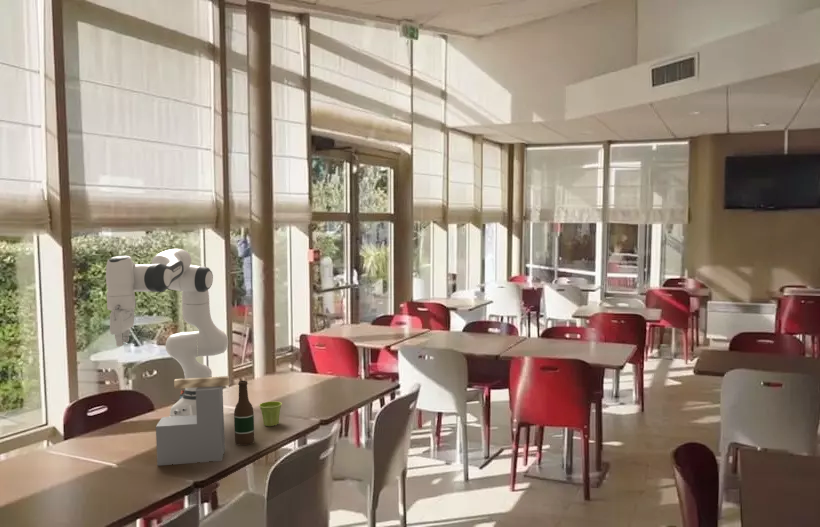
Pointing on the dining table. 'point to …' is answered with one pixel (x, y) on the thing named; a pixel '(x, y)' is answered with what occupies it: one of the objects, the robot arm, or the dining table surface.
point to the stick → (201, 382)
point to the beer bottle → (243, 417)
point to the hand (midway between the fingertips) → (122, 344)
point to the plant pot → (270, 412)
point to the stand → (194, 432)
